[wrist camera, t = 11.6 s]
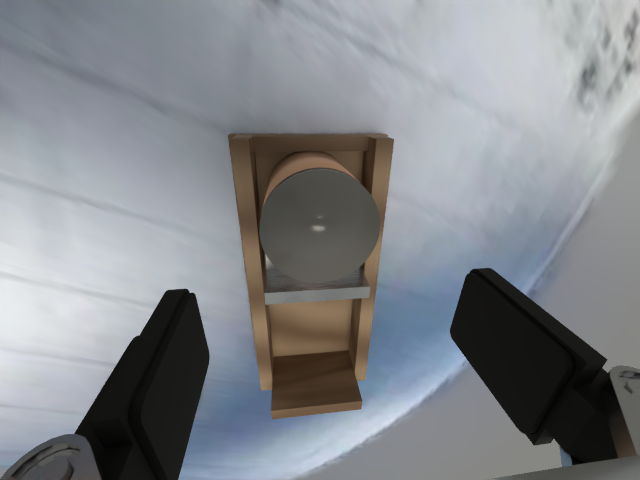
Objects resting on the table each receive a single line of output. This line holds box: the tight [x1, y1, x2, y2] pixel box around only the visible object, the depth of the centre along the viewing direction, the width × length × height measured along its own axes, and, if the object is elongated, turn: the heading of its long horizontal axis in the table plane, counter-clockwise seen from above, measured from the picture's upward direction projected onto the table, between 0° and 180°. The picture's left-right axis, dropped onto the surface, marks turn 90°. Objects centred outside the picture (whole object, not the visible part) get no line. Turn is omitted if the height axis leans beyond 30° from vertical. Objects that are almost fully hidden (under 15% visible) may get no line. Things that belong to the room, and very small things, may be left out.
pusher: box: [264, 254, 370, 305], centre depth 22 cm, size 3×8×6 cm, turn 89°
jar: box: [259, 151, 380, 283], centre depth 19 cm, size 7×7×8 cm
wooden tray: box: [228, 134, 394, 419], centre depth 24 cm, size 24×12×7 cm, turn 179°
